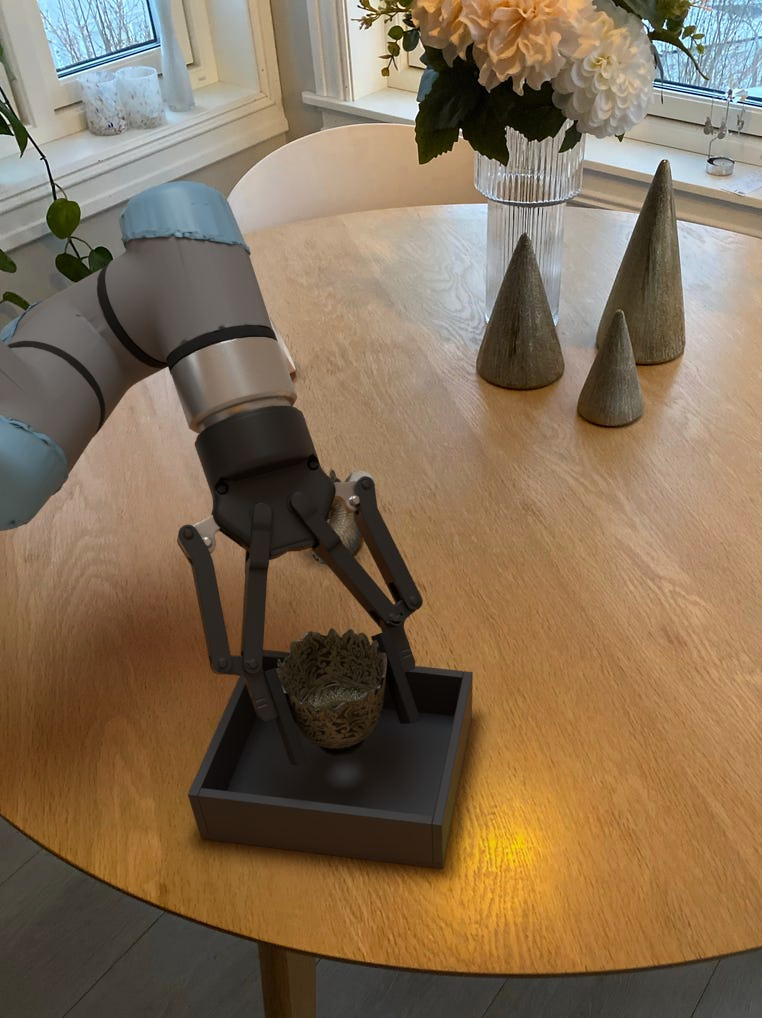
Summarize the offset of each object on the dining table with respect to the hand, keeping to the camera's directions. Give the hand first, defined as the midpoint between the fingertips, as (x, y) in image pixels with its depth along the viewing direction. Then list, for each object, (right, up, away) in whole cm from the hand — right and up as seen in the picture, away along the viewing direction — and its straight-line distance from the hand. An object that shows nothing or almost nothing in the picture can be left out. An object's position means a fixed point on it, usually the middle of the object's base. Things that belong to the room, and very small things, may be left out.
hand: (355, 741), depth 67 cm
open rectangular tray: (-2, -3, +7) cm, 8 cm away
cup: (-2, -1, +5) cm, 5 cm away
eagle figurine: (-6, +17, +29) cm, 34 cm away
